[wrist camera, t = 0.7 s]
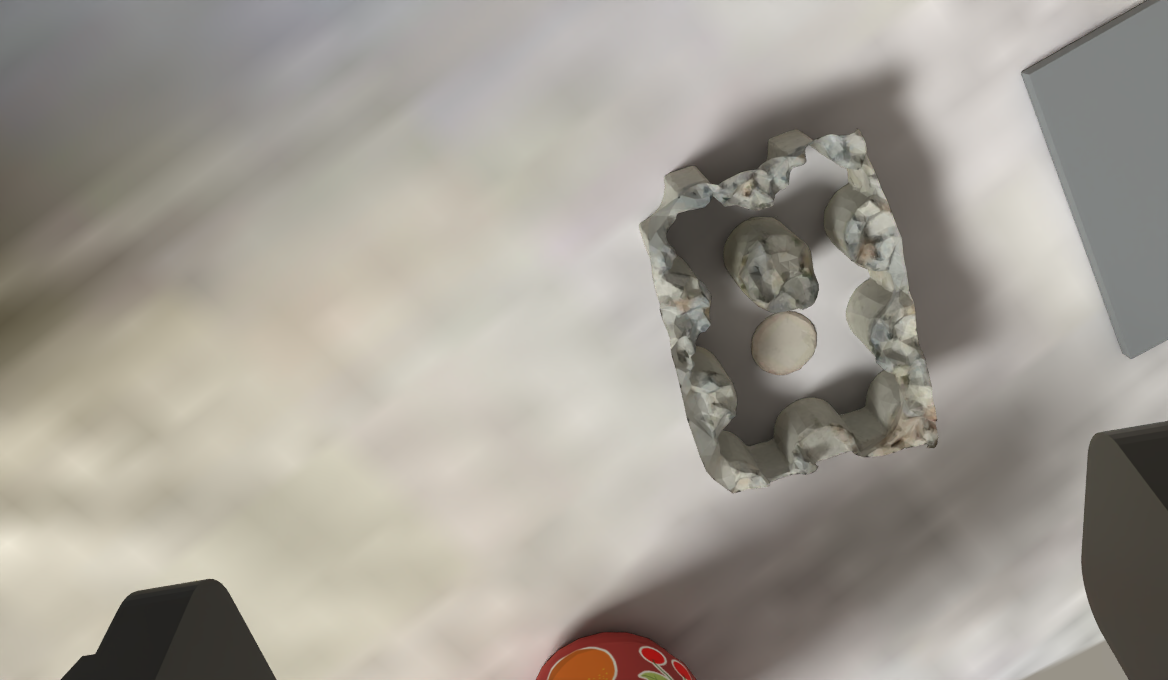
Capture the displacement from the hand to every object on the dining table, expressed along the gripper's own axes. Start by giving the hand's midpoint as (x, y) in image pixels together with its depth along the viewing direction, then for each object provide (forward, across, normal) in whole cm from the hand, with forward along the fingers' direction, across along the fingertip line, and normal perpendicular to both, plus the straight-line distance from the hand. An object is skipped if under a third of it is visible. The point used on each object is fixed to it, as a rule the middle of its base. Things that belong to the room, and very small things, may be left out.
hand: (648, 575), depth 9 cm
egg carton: (+22, -3, +10) cm, 25 cm away
